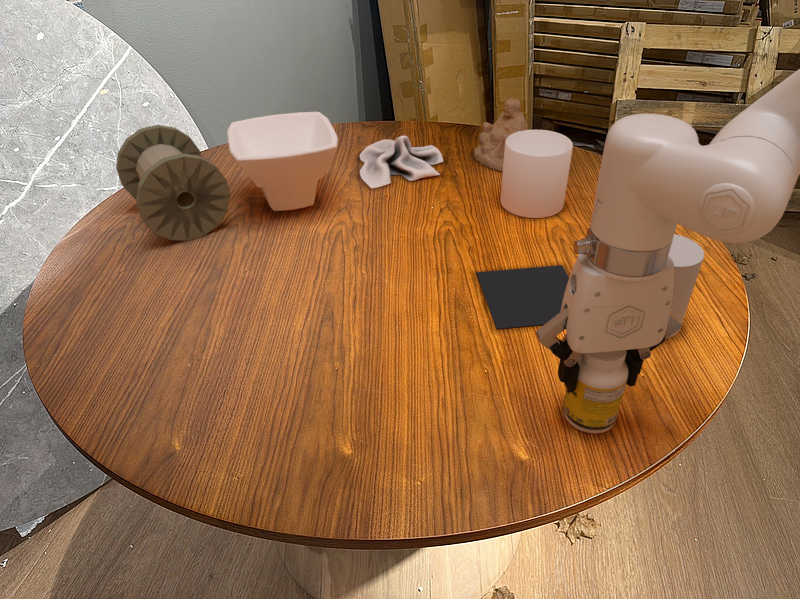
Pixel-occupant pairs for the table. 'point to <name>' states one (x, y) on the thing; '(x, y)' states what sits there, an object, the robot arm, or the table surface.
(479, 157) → the statue
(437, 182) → the table surface
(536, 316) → the mat
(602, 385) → the pill bottle
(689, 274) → the grey upright cylinder
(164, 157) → the spool
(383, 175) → the cloth
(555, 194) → the white cylinder
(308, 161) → the bowl
